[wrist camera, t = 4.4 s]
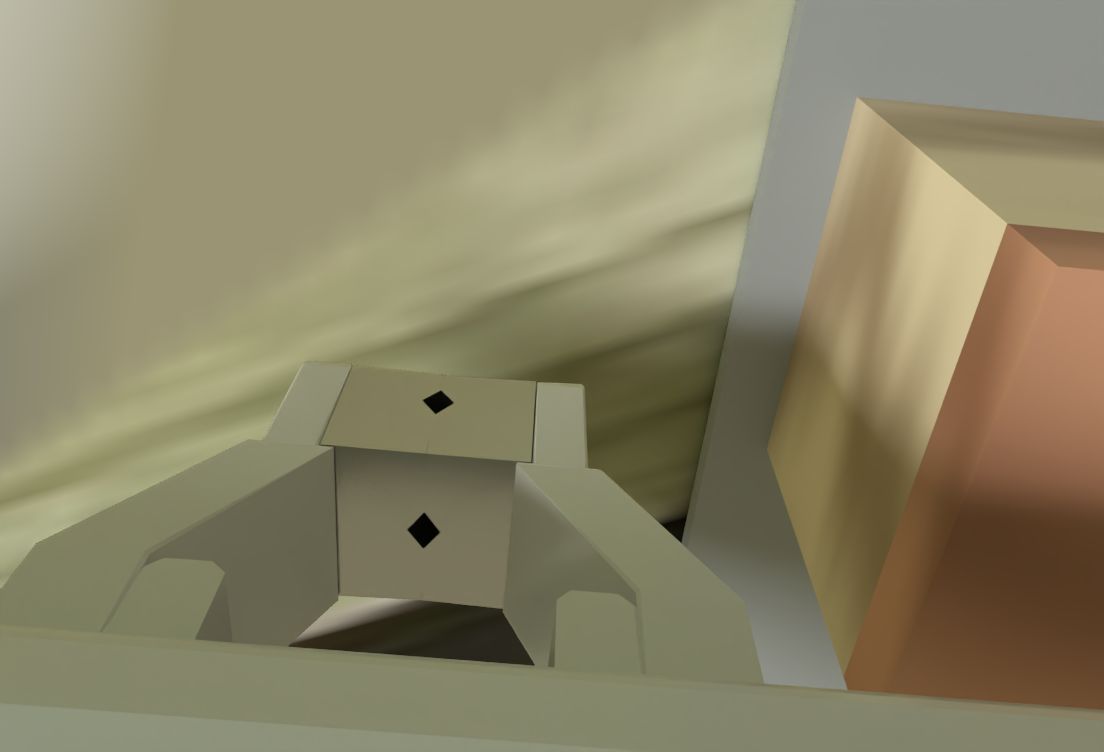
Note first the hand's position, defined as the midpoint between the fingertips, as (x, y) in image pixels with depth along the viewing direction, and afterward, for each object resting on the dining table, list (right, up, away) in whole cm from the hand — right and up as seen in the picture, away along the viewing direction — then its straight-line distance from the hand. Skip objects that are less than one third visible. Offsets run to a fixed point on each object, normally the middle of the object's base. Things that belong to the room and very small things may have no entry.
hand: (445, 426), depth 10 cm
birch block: (+8, +2, +4) cm, 9 cm away
